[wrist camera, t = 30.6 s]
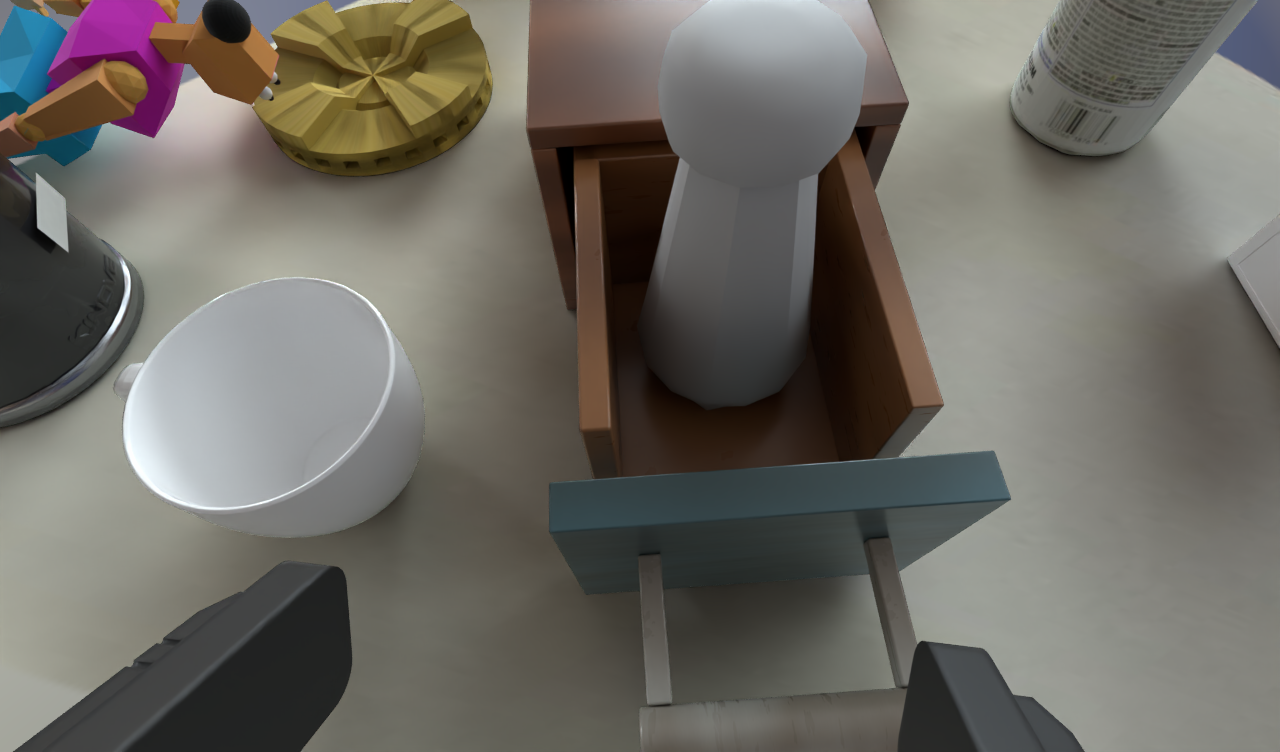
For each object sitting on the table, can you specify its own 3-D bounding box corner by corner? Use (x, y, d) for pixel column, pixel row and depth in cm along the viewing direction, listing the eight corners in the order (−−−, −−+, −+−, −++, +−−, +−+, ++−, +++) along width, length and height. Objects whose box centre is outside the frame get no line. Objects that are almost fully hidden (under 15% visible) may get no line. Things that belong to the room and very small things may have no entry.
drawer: (941, 742, 19) (1102, 752, 12) (589, 768, 19) (547, 793, 12) (823, 270, 27) (877, 117, 20) (578, 287, 27) (550, 140, 20)
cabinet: (834, 292, 28) (910, 103, 19) (566, 310, 28) (525, 129, 19) (781, 84, 34) (820, -125, 26) (564, 99, 34) (532, -105, 26)
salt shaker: (817, 415, 23) (974, 106, 11) (659, 448, 22) (658, 161, 11) (767, 285, 26) (854, -70, 14) (626, 312, 25) (597, -30, 14)
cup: (419, 586, 22) (331, 536, 16) (159, 538, 23) (-11, 475, 17) (483, 390, 26) (430, 291, 20) (255, 357, 27) (141, 253, 21)
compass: (483, 126, 30) (493, 162, 32) (482, -21, 36) (491, 17, 38) (224, 153, 30) (250, 187, 32) (265, 0, 35) (285, 37, 37)
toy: (-188, 286, 35) (281, 189, 28) (-352, 225, 30) (169, 91, 23) (-88, 119, 40) (331, 3, 33) (-216, 44, 35) (247, -110, 28)
